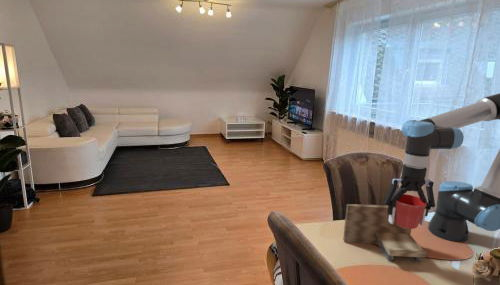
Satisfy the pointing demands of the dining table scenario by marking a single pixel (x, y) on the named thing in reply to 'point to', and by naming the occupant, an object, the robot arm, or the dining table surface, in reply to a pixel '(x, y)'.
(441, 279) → the dining table surface
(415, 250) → the small wooden stand
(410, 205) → the flower pot
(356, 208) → the wooden board
